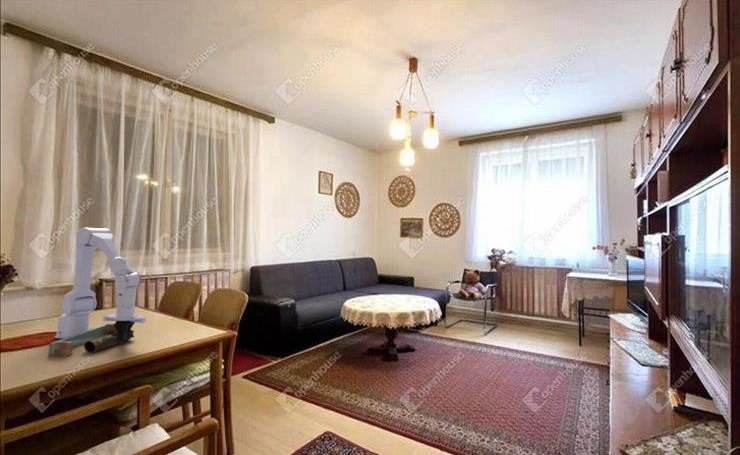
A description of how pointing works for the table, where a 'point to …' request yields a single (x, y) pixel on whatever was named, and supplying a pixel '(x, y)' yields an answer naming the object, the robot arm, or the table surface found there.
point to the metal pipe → (105, 341)
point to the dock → (78, 340)
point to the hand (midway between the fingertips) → (122, 340)
